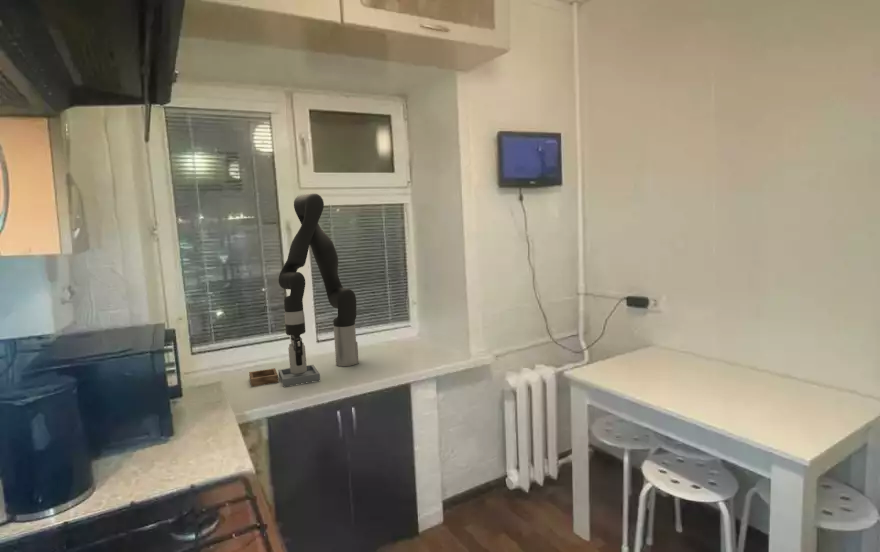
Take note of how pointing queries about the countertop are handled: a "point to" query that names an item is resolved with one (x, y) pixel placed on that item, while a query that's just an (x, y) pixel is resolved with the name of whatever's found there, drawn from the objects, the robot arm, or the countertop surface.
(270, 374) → the collar
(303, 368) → the beverage can
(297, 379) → the tray
